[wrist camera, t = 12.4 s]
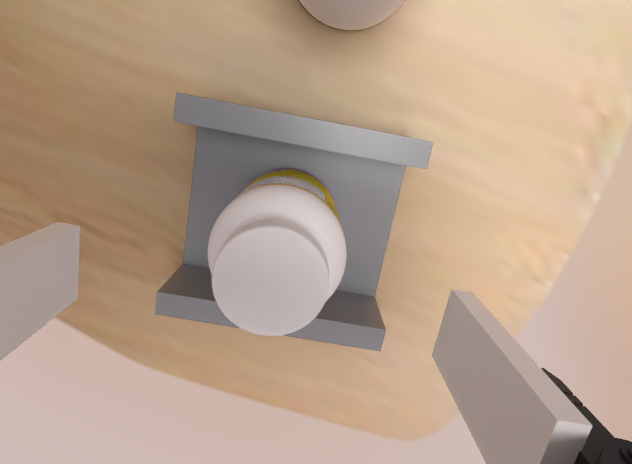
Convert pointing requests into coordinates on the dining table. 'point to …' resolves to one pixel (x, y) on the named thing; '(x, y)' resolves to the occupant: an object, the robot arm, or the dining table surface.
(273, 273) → the supplement bottle
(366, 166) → the u cradle
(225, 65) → the dining table surface
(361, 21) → the pill bottle
